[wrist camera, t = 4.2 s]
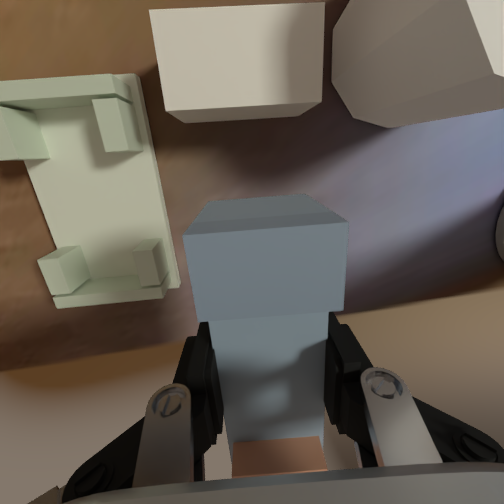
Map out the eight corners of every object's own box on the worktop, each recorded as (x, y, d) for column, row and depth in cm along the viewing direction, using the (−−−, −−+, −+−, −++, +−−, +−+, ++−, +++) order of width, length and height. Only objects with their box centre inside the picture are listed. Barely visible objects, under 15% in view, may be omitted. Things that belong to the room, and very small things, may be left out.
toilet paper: (482, -36, 18) (926, -377, 6) (440, 129, 21) (672, 101, 10) (340, -46, 17) (552, -449, 6) (322, 126, 21) (429, 92, 9)
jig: (139, 77, 19) (116, 57, 15) (180, 282, 25) (171, 305, 21) (6, 86, 18) (-52, 69, 14) (81, 292, 24) (54, 317, 21)
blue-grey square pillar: (304, 193, 10) (349, 222, 6) (304, 401, 15) (330, 506, 10) (208, 201, 10) (182, 235, 6) (236, 407, 15) (233, 513, 10)
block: (297, 48, 19) (324, 2, 13) (297, 116, 20) (321, 101, 15) (175, 54, 18) (148, 9, 13) (184, 123, 20) (165, 110, 14)
